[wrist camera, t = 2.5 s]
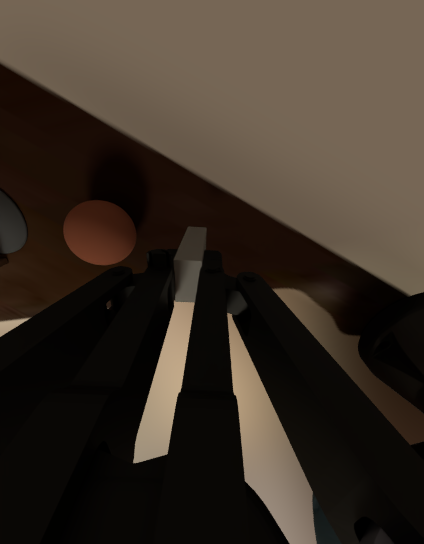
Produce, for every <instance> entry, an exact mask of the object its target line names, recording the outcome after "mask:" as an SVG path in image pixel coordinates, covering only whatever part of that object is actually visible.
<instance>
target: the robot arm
mask: <svg viewBox="0 0 424 544" xmlns="http://www.w3.org/2000/svg"><path fill="white" fill-rule="evenodd" d="M146 254H147V263H148V268H147V269H146V271H145V272H144V273H139V274H132V269H131V268H129V267H123V266H118V267H115V268H111V269H109V270H107V271H105V272H104V273H102V274H101V275H99V276H97V277H96V278H94V279H93V280H91V281H89V282H88V283H86V284H85V285H83V286H81V287H80V288H78V289H77V290H75V291H73V292H72V293H70V294H69V295H67V296H65V297H64V298H62V299H60V300H59V301H57V302H56V303H54V304H52V305H51V306H49V307H48V308H46V309H44V310H43V311H41V312H40V313H38V314H36V315H35V316H33V317H32V318H30V319H28V320H27V321H25V322H24V323H22V324H20V325H19V326H18V327H16V328H14V329H12V330H11V331H9V332H8V333H6V334H4V335H3V336H1V337H0V544H289V542H288V540H287V539H286V537H285V536H284V534H283V532H282V531H281V529H280V528H279V526H278V524H277V523H276V521H275V519H274V518H273V516H272V515H271V513H270V511H269V510H268V508H267V507H266V505H265V504H264V503H263V501H262V500H261V499H260V497H259V496H258V495H257V494H256V492H255V491H254V490H253V489H252V488H251V487H250V486H249V485H248V484H247V483H246V482H245V479H244V467H243V456H242V446H241V434H240V423H239V412H238V404H237V399H236V396H235V395H234V393H233V383H232V370H231V359H230V344H229V331H228V318H227V313H230V314H232V318H233V320H234V323H235V325H236V327H237V329H238V331H239V333H240V336H241V338H242V340H243V342H244V344H245V346H246V348H247V350H248V353H249V355H250V357H251V359H252V362H253V363H254V366H255V368H256V370H257V372H258V374H259V376H260V379H261V381H262V383H263V385H264V387H265V390H266V392H267V394H268V396H269V398H270V400H271V402H272V405H273V407H274V409H275V411H276V413H277V415H278V417H279V420H280V422H281V424H282V426H283V428H284V431H285V432H286V435H287V437H288V439H289V441H290V444H291V446H292V448H293V450H294V452H295V454H296V456H297V459H298V461H299V463H300V465H301V467H302V469H303V472H304V473H305V476H306V478H307V480H308V482H309V485H310V487H311V489H312V491H313V514H314V527H315V535H316V541H317V544H424V442H420V443H416V444H412V445H409V443H408V442H407V441H406V440H405V439H404V438H403V437H402V436H401V434H400V433H399V432H398V431H397V430H396V429H395V428H394V426H393V425H392V424H391V423H390V422H389V421H388V420H387V419H386V418H385V416H384V415H383V414H382V413H381V412H380V411H379V410H378V408H377V407H376V406H375V405H374V404H373V403H372V402H371V400H370V399H369V398H368V397H367V396H366V395H365V394H364V393H363V391H361V389H360V388H359V387H358V386H357V385H356V384H355V382H354V381H353V380H352V379H351V378H350V377H349V376H348V374H346V372H345V371H344V370H343V369H342V368H341V367H340V366H339V364H338V363H337V362H336V361H335V360H334V359H333V358H332V357H331V355H330V354H329V353H328V352H327V351H326V350H325V348H324V347H323V346H322V345H321V344H320V343H319V342H318V341H317V339H316V338H314V336H313V335H312V334H311V333H310V332H309V330H308V329H307V328H306V327H305V326H304V325H303V324H302V323H301V322H300V320H299V319H298V318H297V317H296V316H295V315H294V313H293V312H292V311H291V310H290V309H289V308H288V307H287V306H286V304H285V303H284V302H283V301H282V300H281V299H280V298H279V297H278V295H277V294H276V293H275V292H274V291H273V290H272V289H271V287H270V286H269V285H268V284H267V283H266V282H265V281H264V280H263V278H262V277H261V276H259V275H258V274H255V273H253V272H242V273H239V274H238V275H237V278H234V277H230V276H228V275H226V274H225V273H224V270H223V268H222V255H221V253H220V252H219V251H210V250H206V228H205V227H188V228H187V231H186V233H185V235H184V237H183V240H182V242H181V244H180V246H179V249H167V250H165V249H155V250H151V251H148V252H147V253H146ZM174 297H175V301H176V302H195V305H194V311H193V318H192V324H191V330H190V337H189V343H188V350H187V356H186V363H185V370H184V376H183V382H182V388H181V392H180V393H179V394H178V397H177V402H176V408H175V413H174V419H173V425H172V431H171V437H170V443H169V450H168V454H167V455H164V456H160V457H157V458H153V459H150V460H146V461H143V462H139V463H133V459H134V449H135V441H136V436H137V433H138V429H139V426H140V422H141V419H142V415H143V412H144V409H145V405H146V402H147V398H148V395H149V391H150V388H151V384H152V381H153V377H154V374H155V371H156V367H157V363H158V360H159V357H160V353H161V349H162V346H163V343H164V339H165V336H166V333H167V329H168V326H169V322H170V318H171V315H172V312H173V308H174ZM109 300H110V301H111V307H110V308H109V309H107V306H106V303H107V302H108V301H109ZM358 351H359V355H360V357H361V359H362V360H363V362H364V363H365V364H366V366H367V367H368V368H369V370H370V371H371V372H372V373H373V374H374V375H375V376H376V377H377V378H378V379H380V380H381V381H382V382H383V383H385V384H386V385H387V386H389V387H390V388H391V389H393V390H394V391H395V392H397V393H398V394H399V395H400V396H402V397H403V398H404V399H406V400H407V401H408V402H410V403H411V404H412V405H414V406H415V407H416V408H417V409H419V410H420V411H421V412H422V413H423V414H424V292H423V293H419V294H416V295H412V296H410V297H407V298H405V299H402V300H400V301H398V302H396V303H394V304H392V305H391V306H389V307H388V308H386V309H385V310H383V311H382V312H380V313H379V314H378V315H377V316H376V317H375V318H373V319H372V321H371V322H370V323H369V324H368V325H367V326H366V328H365V329H364V331H363V332H362V334H361V337H360V340H359V344H358Z"/></svg>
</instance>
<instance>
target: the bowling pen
mask: <svg viewBox="0 0 424 544" xmlns="http://www.w3.org/2000/svg"><path fill="white" fill-rule="evenodd" d="M7 263H8V261H7V258H0V267H1V266H3V265H5V264H7Z"/></svg>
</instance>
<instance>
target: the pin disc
mask: <svg viewBox="0 0 424 544" xmlns="http://www.w3.org/2000/svg"><path fill="white" fill-rule="evenodd" d="M27 233H28V232H27V225H26V222H25V219H24V217H23V215H22V213H21V211H20V210H19V208H18V207H17V206H16V204H15V203H14V202H13V201H12V200H11V199H10V198H9V197H8V196H7V195H6V194H5V193H4V192H2V191H1V190H0V253H3V254H5V253H12V252H15V251H17V250H19V249H21V248H22V247H23V246H24V244H25V242H26V240H27Z"/></svg>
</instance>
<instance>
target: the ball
mask: <svg viewBox="0 0 424 544" xmlns="http://www.w3.org/2000/svg"><path fill="white" fill-rule="evenodd" d="M64 237H65V240H66V243H67V245H68V246H69V248H70V249H71V250H72V252H73V253H74V254H75V255H77V256H78V257H79V258H81V259H82V260H84V261H86V262H89V263H92V264H97V265H110V264H114V263H117V262H119V261H121V260H123V259H124V258H126V257H127V256H128V255H129V254H130V253H131V251H132V250H133V248H134V245H135V242H136V229H135V225H134V223H133V221H132V219H131V218H130V216H129V215H128V214H127V213H126V212H125V211H124V210H123V209H122V208H120V207H119V206H117V205H115V204H113V203H110V202H107V201H102V200H92V201H86V202H84V203H81V204H79V205H77V206H76V207H74V208H73V209H72V210H71V211H70V213H69V214H68V215H67V217H66V219H65V222H64Z"/></svg>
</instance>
